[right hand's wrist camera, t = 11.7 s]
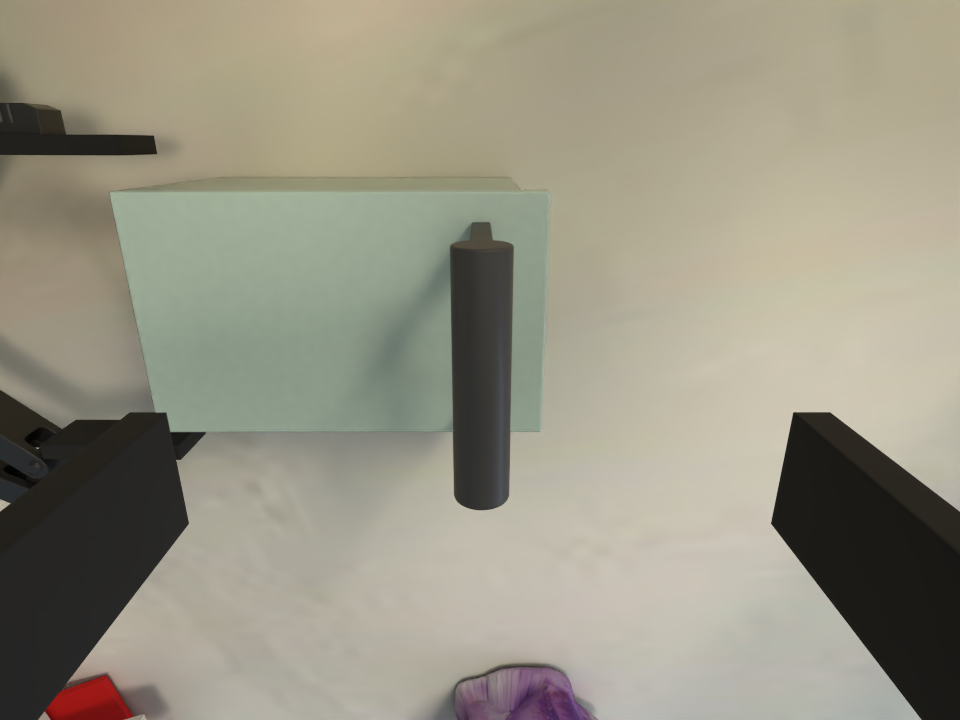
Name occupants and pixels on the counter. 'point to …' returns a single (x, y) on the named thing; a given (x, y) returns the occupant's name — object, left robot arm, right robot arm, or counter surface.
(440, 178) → the chest
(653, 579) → the counter surface
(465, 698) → the figurine
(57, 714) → the toy
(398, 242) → the lid
